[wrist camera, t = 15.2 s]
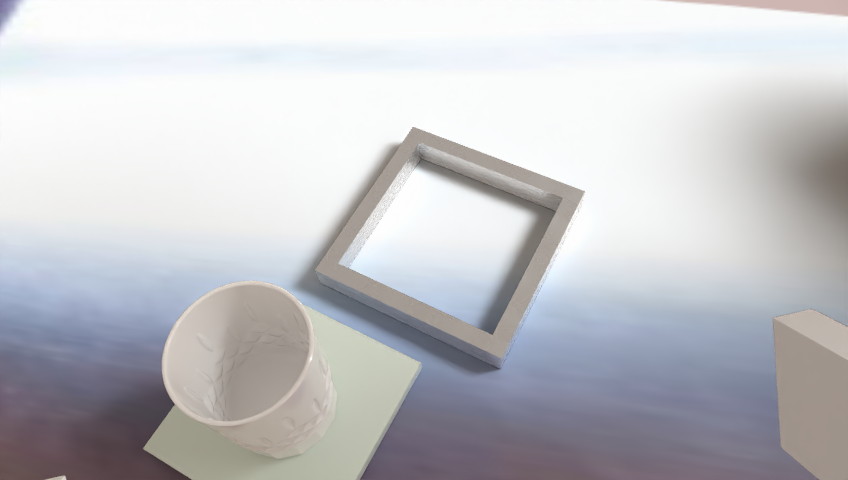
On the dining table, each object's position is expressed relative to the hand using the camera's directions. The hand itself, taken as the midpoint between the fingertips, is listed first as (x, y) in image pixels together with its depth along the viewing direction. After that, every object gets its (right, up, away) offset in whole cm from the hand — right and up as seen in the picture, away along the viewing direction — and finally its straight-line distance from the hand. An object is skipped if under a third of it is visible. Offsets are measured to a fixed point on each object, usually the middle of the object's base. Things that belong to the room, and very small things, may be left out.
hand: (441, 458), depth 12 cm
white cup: (-9, -7, +30) cm, 32 cm away
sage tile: (-9, -7, +31) cm, 33 cm away
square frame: (+2, +4, +37) cm, 37 cm away
